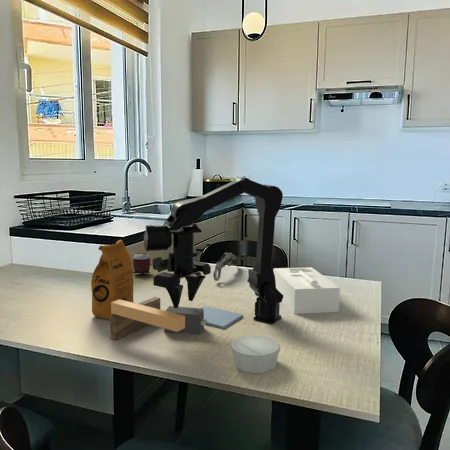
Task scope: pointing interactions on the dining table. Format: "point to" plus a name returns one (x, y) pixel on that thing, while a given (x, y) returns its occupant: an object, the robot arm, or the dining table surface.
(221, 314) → the pad
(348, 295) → the dining table surface
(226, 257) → the grey curved piece
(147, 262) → the mate gourd
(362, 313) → the dining table surface
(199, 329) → the charcoal wedge block
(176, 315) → the tan wooden bar
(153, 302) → the rail
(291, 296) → the tissue box
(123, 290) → the coffee package
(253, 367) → the ramekin
